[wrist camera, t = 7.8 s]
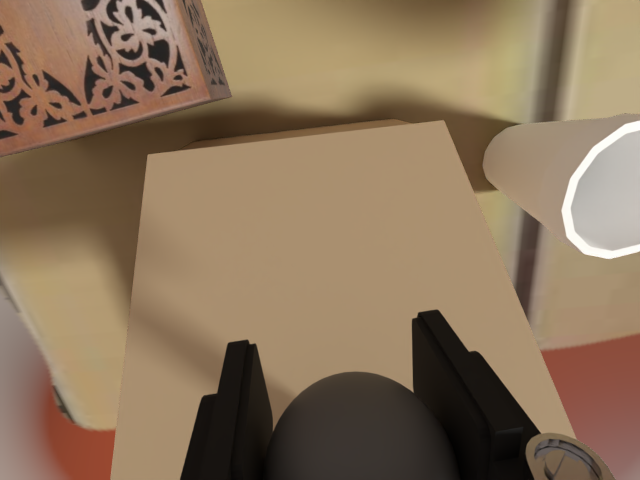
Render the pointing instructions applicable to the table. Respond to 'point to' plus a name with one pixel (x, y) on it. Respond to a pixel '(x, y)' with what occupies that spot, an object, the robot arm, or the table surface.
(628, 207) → the foam cup
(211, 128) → the table surface
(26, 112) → the tissue box cover
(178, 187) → the carton lid
